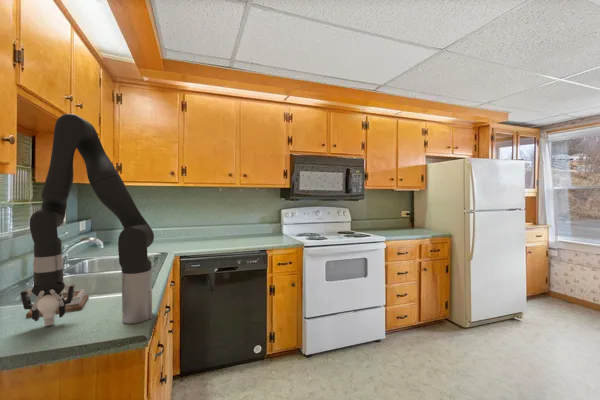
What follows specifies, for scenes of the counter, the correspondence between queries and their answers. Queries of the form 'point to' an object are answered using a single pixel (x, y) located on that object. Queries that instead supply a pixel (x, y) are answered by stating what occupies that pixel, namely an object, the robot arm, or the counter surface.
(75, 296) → the jig
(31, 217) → the robot arm
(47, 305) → the lightbulb
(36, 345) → the counter surface
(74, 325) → the counter surface
